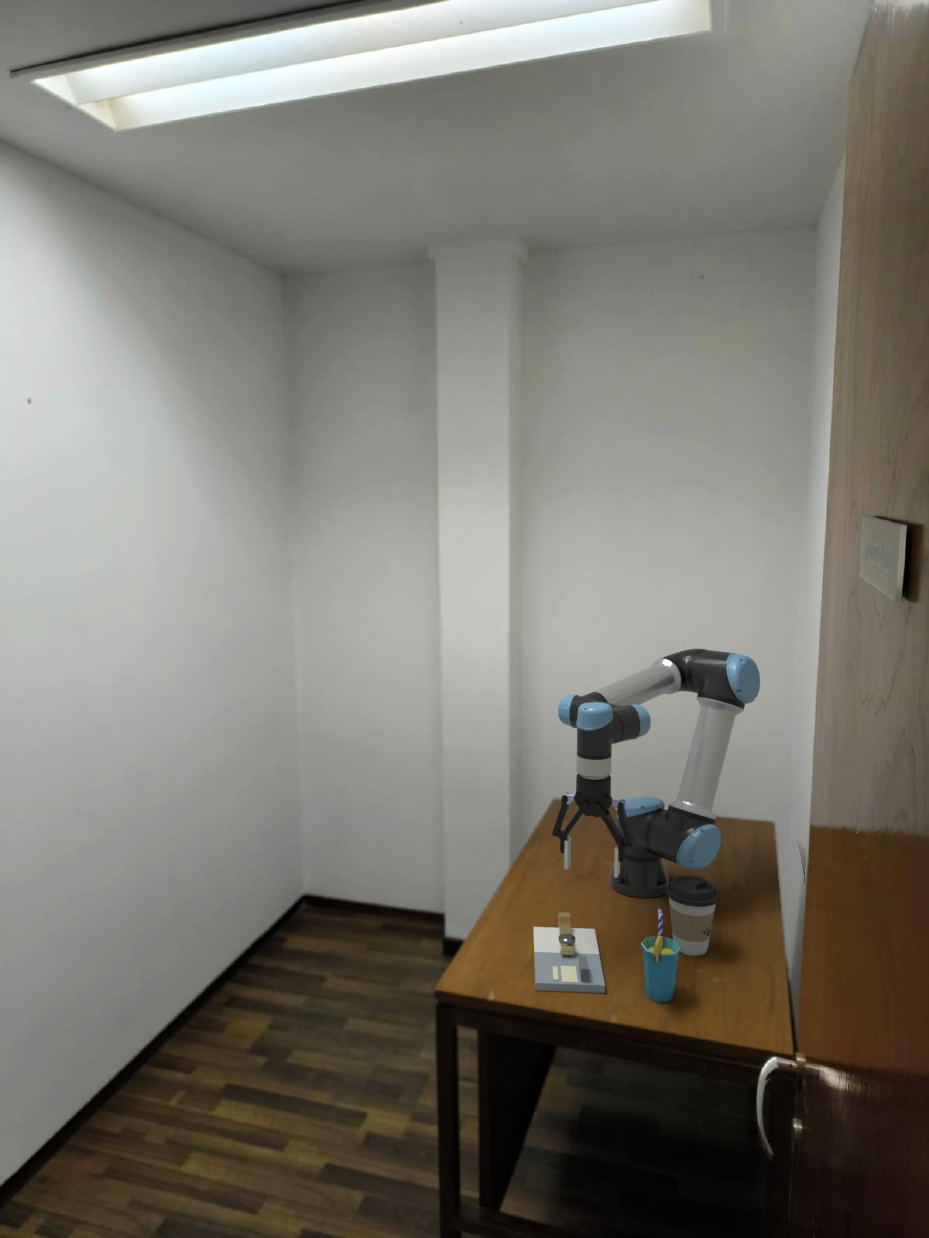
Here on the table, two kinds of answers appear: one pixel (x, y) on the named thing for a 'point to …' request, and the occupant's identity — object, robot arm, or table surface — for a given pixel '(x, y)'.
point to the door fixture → (567, 962)
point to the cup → (660, 964)
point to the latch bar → (565, 934)
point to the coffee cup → (692, 912)
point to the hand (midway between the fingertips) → (591, 870)
